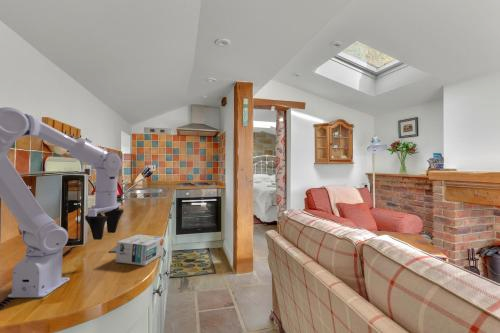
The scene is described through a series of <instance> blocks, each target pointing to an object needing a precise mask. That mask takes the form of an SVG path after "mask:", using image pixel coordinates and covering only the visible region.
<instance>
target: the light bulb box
mask: <svg viewBox="0 0 500 333" xmlns="http://www.w3.org/2000/svg"><path fill="white" fill-rule="evenodd" d="M164 240H165V236H155V235H146V234H145V235H144V234H138V233H137V234H135V235H132V236H130V237H127V238H124V239H121V240H118V241H117V242H116V246H117V249H116V252H115V262H116V263H120V264H129V265H136V266H144V267H146V266H147V265H149V264H151V263H152V262H154V261H155V260H156V259H158V258H160V257H162V256H163V255H164V244H165V243H164V242H165V241H164Z"/></svg>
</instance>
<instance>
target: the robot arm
mask: <svg viewBox="0 0 500 333" xmlns="http://www.w3.org/2000/svg"><path fill="white" fill-rule="evenodd" d="M22 137H28V138H29V137H32V138H36V139H40V140H42V141H45V142H47V143H50V144H51V145H55V146H56V147H59V148H62V149H64V150H67V151H68V154H69V155H70V157H71V158H74V159H76V160H78V161H80V162H82V163H85V164H87V165H89V166H92V168H93V169H94V170H95V194H94V196H95V198H94V199H95V200H94V204H93V205H91V206H90V207H91V208H89V209H87V214H86V215H84V219H85V221H86V222H87V224H88V226H89V228H90V231H91V236H92V238H93V240H94V241H96V240H97V241H98V240H99V241H101V240H102V239H103V237H104V229H105V226H106V230H107V233H108V234H114V233H116V232H117V228H118V224H119V221H120V219H121V217H122V215H123V213H124V209H121V208H122V207H121V206H122V202H118V177H119V176H118V175H119V171H120V169H121V168H122V166H123V161H122V160H121V157H120V156H119V154H117V153H116V152H114V151H113V152H111V151H110V152H109V151H107V148H106V147H100V146H99V145H97V144H95V143H92V142H93V140H91V139H89V138H85V139H84V138H79V139H75V138H72V137H70V136H69V135H67V134H66V133H63V132H61V131H59V130H58V129H56V128H54V127H52V126H50V125H49V124H47V123H44V122H43V121H41V120H39V119H38V118H36V117H35V116H33V115H31V114H28V113H24V112H22V111H21V110H19V109H16V108H14V107H7V106H6V107H0V200H1V201H2V202H3V203H4V205H5V206H6V207H7V208H8V210H9V212H10V213H11V214H12V215H13V217H14V218H15V219H16V221H17V223H18V226H17V227H18V229H19V231H20V232H21V240H22V242H23V244H24V245H25V246H26V247H27V248H26V249H25V256H24V257H23V258H22V259H21V260H19V262H17V263H16V264H15V265H14V267H13V269H12V280H11V282H12V284H11V293H10V294H8V295H7V298H44V297H46V296H48V295H49V294H51V293H52V292H53V291H55V290H57V289H58V288H59V287H61V286H63V285H64V284H65V283H67V282H68V281H70V278H71V277H63V255H64V254H63V252H64V248H65V246H66V245H67V243H68V242H69V241H68V240H69V233H68V230H66V229H65V228H64V227H62V226H59V225H58V224H57V223H56V221H55V219H53V218H52V217H50V216H49V214H47V213H46V212H45V211H44V209H43V208H42V206H41V205H40V202H38V201H37V198H36V197H35V196H34V195H33V193H32V191H31V190H30V189H29V187H28V185H27V184H26V183H25V181H24V180H23V178H22V176H21V175H20V173H19V172H18V171H17V169H16V168H15V167H14V164H13V163H12V162H11V160H10V159H9V157H8V156H7V155H8V152H9V151H10V150H11V148H12V146H13V144H14V143H15V142H16V141H17V140H18V139H20V138H22ZM103 214H104V215H103ZM105 224H106V225H105Z"/></svg>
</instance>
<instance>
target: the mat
mask: <svg viewBox="0 0 500 333" xmlns="http://www.w3.org/2000/svg"><path fill="white" fill-rule="evenodd" d="M116 249H117V245H116V246H115V247H113V248H112V249H110V250H108V253H116Z"/></svg>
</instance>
